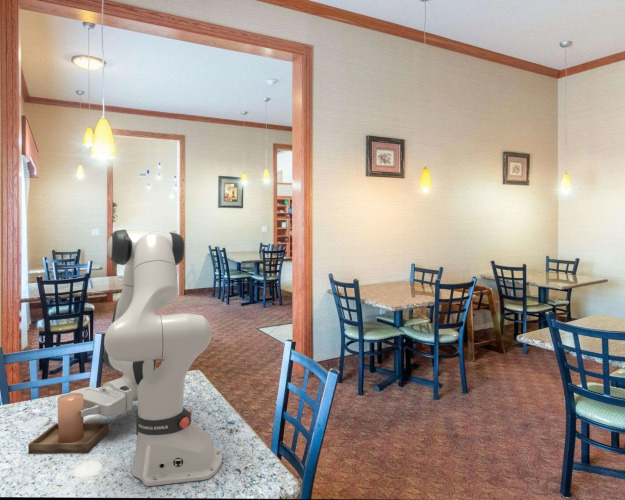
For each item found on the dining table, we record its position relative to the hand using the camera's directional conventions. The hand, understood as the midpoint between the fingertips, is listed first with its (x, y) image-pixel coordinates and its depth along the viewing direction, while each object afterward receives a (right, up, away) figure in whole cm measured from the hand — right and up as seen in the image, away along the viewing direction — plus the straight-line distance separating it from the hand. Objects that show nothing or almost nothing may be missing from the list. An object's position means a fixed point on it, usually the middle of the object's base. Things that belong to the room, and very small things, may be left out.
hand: (70, 410), depth 123 cm
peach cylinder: (0, -8, 0) cm, 8 cm away
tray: (0, -9, 0) cm, 9 cm away
